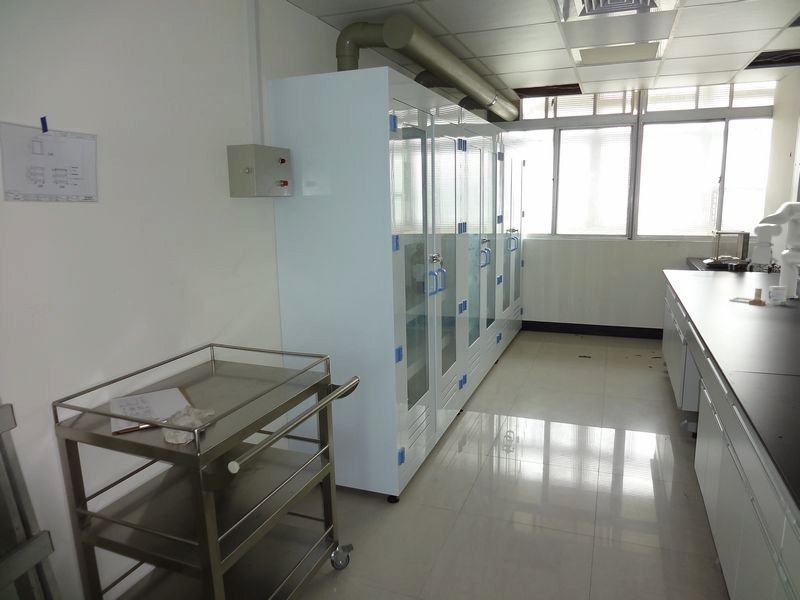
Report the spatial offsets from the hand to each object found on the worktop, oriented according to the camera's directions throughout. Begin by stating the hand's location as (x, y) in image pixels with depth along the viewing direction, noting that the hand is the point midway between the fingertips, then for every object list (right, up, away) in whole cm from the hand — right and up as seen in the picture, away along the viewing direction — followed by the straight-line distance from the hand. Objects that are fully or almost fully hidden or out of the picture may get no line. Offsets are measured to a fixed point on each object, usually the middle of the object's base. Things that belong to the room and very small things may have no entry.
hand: (760, 272), depth 334 cm
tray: (-1, -18, +15) cm, 24 cm away
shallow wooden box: (+1, -20, +4) cm, 20 cm away
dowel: (+1, -19, +4) cm, 20 cm away
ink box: (+13, -20, +4) cm, 24 cm away
